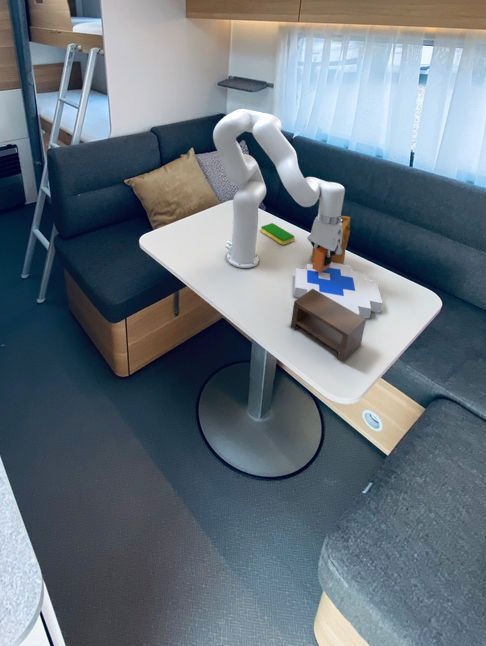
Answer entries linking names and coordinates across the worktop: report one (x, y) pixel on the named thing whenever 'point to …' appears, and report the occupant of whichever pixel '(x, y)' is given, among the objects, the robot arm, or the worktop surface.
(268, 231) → the dish sponge
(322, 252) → the block
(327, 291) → the stepped white slab
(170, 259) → the worktop surface
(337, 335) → the shelf
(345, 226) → the coffee package
